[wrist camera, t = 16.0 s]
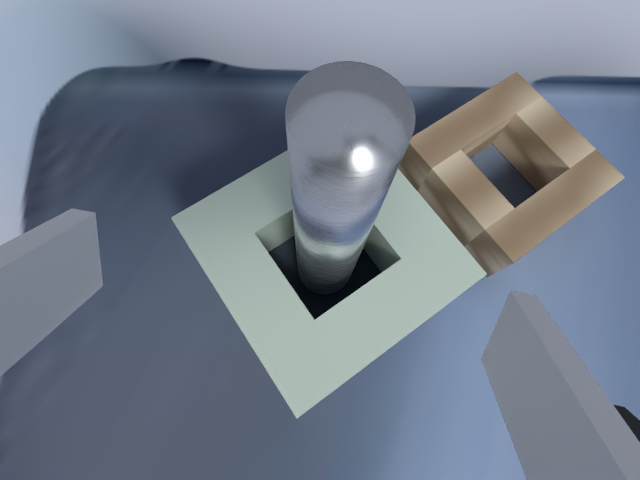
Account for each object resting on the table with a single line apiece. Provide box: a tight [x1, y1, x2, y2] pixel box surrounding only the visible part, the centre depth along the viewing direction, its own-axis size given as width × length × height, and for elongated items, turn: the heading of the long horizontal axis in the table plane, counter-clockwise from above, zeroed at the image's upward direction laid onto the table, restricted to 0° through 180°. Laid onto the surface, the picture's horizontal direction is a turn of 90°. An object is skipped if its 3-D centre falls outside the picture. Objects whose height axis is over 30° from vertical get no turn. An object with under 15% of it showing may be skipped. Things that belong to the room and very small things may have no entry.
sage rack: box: [171, 150, 487, 418], centre depth 27 cm, size 14×14×5 cm
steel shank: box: [285, 61, 416, 294], centre depth 21 cm, size 4×4×18 cm
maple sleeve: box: [398, 72, 625, 277], centre depth 30 cm, size 11×11×4 cm
